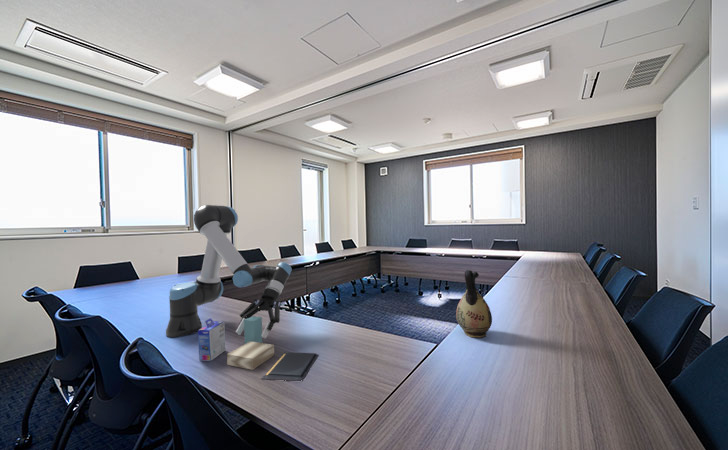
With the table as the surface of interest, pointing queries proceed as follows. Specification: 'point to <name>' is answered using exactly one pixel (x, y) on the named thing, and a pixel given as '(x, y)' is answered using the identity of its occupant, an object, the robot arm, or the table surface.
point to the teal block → (253, 329)
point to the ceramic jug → (473, 309)
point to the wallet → (291, 367)
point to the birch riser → (250, 355)
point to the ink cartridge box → (211, 340)
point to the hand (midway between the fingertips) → (250, 335)
